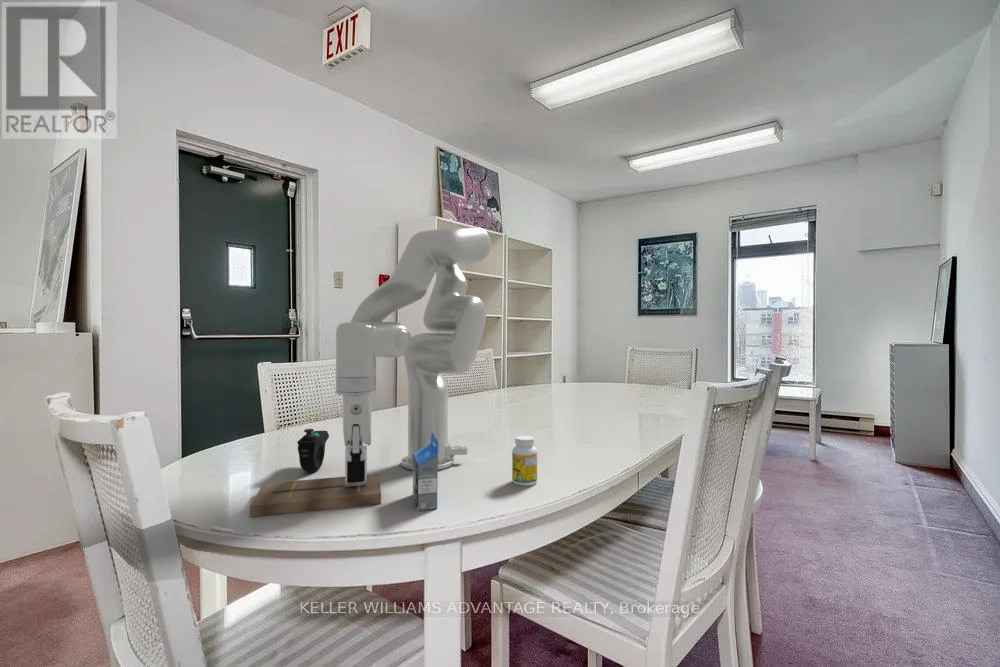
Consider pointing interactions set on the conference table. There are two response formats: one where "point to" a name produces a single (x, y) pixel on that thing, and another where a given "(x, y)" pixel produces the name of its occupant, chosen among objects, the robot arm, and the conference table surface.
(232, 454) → the conference table surface
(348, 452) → the fader tab
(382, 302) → the robot arm
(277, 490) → the fader console
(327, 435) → the controller
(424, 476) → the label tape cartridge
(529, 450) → the supplement bottle
